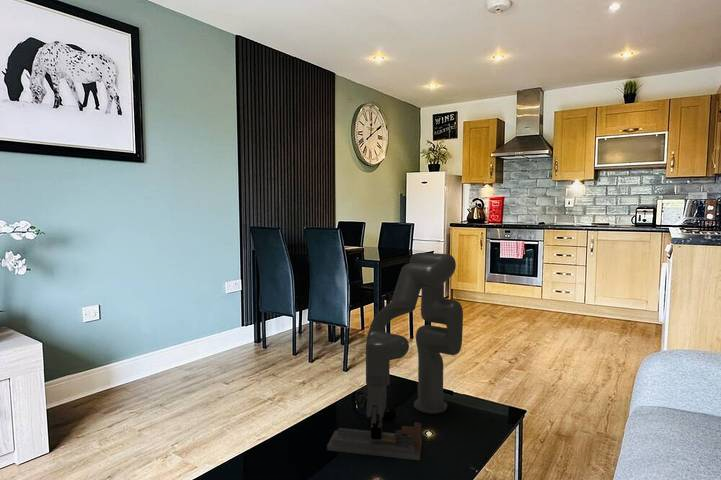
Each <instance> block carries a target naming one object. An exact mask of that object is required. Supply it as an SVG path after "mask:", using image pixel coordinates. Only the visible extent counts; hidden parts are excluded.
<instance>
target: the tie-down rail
mask: <svg viewBox="0 0 721 480" xmlns="http://www.w3.org/2000/svg"><path fill="white" fill-rule="evenodd" d="M400 430H401V434H408V439H405V438H398V441H397V445H396V444H387V443H377V442H371V430H366V429H364V430H363V429H353V428H343V427H338V429H336V430H334V432H333V434H331V435H332V436H331V437H330V439H329V442H328V443H327V445H326V451H331V452H340V453H348V454H349V453H350V454H351V453H352V454H360V455H367V456H377V457H385V458H395V459H405V460H412V461H420V460H421V452H422V451H421V450H422V445H423V440H422V423H421V422H414V425H413V426H409V425H401V429H400ZM382 433H387V432H384V431H382ZM391 433H392V434H395V432H394V433H393V432H391Z"/></svg>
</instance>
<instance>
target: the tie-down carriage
mask: <svg viewBox="0 0 721 480" xmlns="http://www.w3.org/2000/svg"><path fill="white" fill-rule="evenodd" d="M378 420H379V419H377V421H378ZM380 426H381V439H372V438H371V442H377V443H387V444H396V445H397V441H398V438H405V439H408V435H409V434H401V429H395V432H394V433H395V434H392V433H393V432H386V433H382V432H383V431H382V418H381V424H380Z"/></svg>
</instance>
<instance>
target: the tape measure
mask: <svg viewBox="0 0 721 480" xmlns="http://www.w3.org/2000/svg"><path fill="white" fill-rule="evenodd" d="M396 416H397V413H396V411H395V410H394V409H393V408H392V407H391V406H390V405H389V404H386V408H385V411H384V422H386V421H390V420H394V419H396V418H397V417H396Z"/></svg>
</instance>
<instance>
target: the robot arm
mask: <svg viewBox="0 0 721 480" xmlns="http://www.w3.org/2000/svg"><path fill="white" fill-rule="evenodd" d="M409 259H410V260H409V263H406V264H404V265H403V266H402V267H401V270H400V273H399V276H398V277H397V278H398V279H397V282H396V285H395V288H394V291H393V295H392V297H391V300H390V302H389V303H387V305H385V306H384V307H383V308H381V310H379V312H378V313H376V315H375V316H374V318H373V319H372V321H371V324H370V327H369V329H368V332H367V336H366V341H365V384H366V385H367V386H368V387H367V397H366V398H367V399H366V400H367V401H366V417H367V418H371V421H370V431H371V438H372V439H381V426H380V424H381V418H382V432H384V431H385V421H384V411H385V408H386V405H387V386H389V385H390V377H391V376H390V361H392V360H398V359H402V358H403V357H405V356H406V355H407V354H408V352H409V349H410V343H409V340H408V339H407V338H406V337H405V336H403V335H400V334H396V333H395V334H394V333H391V332H386V331H384V330H385V328H386V326H387V325H388V324H389V323H390V322H392V320H394V319H396V318H398V317H401V316H404V315H406V314H409V313H412V312H414V310H415V309H416V306H417V303H418V300H419V296H420V295H421V296H420V299H421V300H420V316H421V319H423V320H424V321H425V322H429V323H432V324H440V325H446V327H442V326H439V325H438V326H437V325H432V324H431V325H430V324H425V325H422V326H420V327H418V329H417V330H416V333H415V343H416V348H417V366H418V367H417V369H418V370H417V371H418V372H417V375H418V376H417V378H418V379H417V395H418V396H417V399H415V400H414V402H413V407H414V409H416V410H417V411H419V412H421V413H424V414H440V413H444V412H446V410H447V409H448V404H447V403H448V402H446V401H445V400H444V359H443V357H442V355H441V354H444V355H449V356H457V355H458V354H460V352H461V350H462V345H463V330H464V329H463V326H464V323H463V322H464V312H463V311H464V310H463V306H462V305H461V303H460V302H459V300H455V299H450V298H445V285H444V284H445V282H447V281H448V280H449V279H450V278H451V277H452V276H453V275H454V273H455V271H456V267H457V264H456V263H457V262H456V259H455V258H454V256H453V255H452V254H449V253H438V252H437V253H435V252H434V253H433V252H416V253H413V254H412V255H411V256H410V258H409ZM420 292H421V294H420ZM377 419H379V420H378V421H377Z"/></svg>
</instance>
